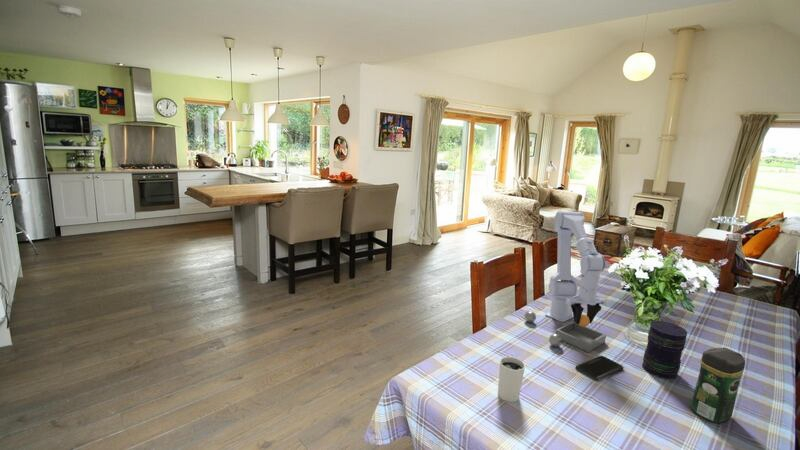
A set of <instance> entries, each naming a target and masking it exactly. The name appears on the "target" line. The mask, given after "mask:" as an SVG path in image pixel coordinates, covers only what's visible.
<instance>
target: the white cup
mask: <svg viewBox="0 0 800 450" xmlns="http://www.w3.org/2000/svg"><path fill="white" fill-rule="evenodd" d="M525 369H526V365H525V362H523V360H521V359H519V358H517V357H514V356H503V357H501V358H500V360H499V370H498V383H497V384H498V385H497V386H498V387H497V395H498V397H499V398H500V399H502V400H503V401H505V402H509V403H514V402H515V403H516V402H517V401H518V400H519V399H520V395H521V389H522V383H523V378H524V374H525Z"/></svg>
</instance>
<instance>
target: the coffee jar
mask: <svg viewBox="0 0 800 450" xmlns="http://www.w3.org/2000/svg"><path fill="white" fill-rule="evenodd" d="M745 366H746V360H745V358H744V356H743V355H742V354H741V353H739V352H737V351H735V350H733V349H730V348H728V347H725V346H724V347H713V348H709V349H707V350H705V351H703V352H702V356H701V359H700V367H699V372H698V373H699V374H698V376H697V380H696V384H695V388H694V390H693V391H694V392H693V393H692V396H691V402H690V405H689V406H690V409H691V410H692V411H693V412H694V413H695V414H696V415H698V416H699V417H700V418H702V419H704V420H707V421H710V422H713V423H716V424H719V423H723V422H727V420H730V419H731V418H732V416H733V412H734V409H735V404H736V398H737V393H738V391H739V386H740V382H741V379H742V375H743V374H744V373H743V372H744V370H745Z"/></svg>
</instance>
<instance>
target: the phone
mask: <svg viewBox="0 0 800 450" xmlns="http://www.w3.org/2000/svg"><path fill="white" fill-rule="evenodd" d="M575 370H576V371H577V372H579V373H580V374H583V375H585V376H586V377H588V378H589V379H591V380H592V381H596V382H599V381H602V380H604V379H606V378H608V377H610V376H613V375H615V374H618V373H619V372H623V371H624V366H623V365H621V364H620V363H618V362H616V361H614V360H612V359H610V358H608V357H606V356H604V355H600V356H597V357H595V358H592V359H589V360H587V361H585V362H582V363H580V364H576V365H575Z"/></svg>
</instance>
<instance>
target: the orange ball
mask: <svg viewBox="0 0 800 450" xmlns="http://www.w3.org/2000/svg"><path fill="white" fill-rule="evenodd" d="M578 325H580V326H582V327H589V325H590V319H589V317H588V316H587V314H585V313H584V314H583V313H582V314H581V318H580V322H579V324H578Z"/></svg>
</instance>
